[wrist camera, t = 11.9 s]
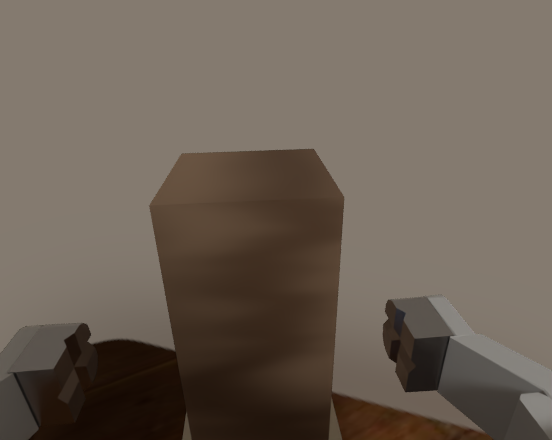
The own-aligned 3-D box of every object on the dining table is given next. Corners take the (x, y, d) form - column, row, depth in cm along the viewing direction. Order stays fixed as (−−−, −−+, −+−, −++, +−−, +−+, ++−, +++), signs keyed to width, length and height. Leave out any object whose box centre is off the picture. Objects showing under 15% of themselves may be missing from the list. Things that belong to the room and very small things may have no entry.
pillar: (200, 486, 14) (149, 205, 9) (211, 382, 19) (181, 153, 14) (326, 476, 15) (344, 196, 10) (307, 375, 19) (313, 149, 14)
